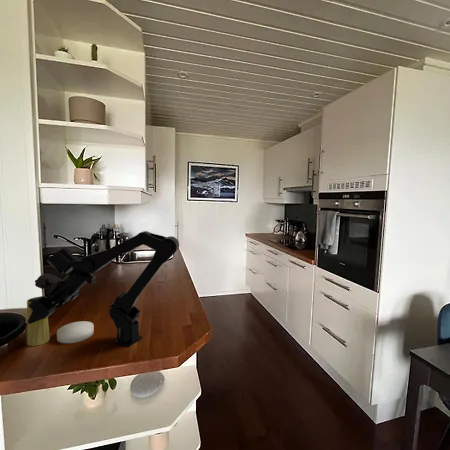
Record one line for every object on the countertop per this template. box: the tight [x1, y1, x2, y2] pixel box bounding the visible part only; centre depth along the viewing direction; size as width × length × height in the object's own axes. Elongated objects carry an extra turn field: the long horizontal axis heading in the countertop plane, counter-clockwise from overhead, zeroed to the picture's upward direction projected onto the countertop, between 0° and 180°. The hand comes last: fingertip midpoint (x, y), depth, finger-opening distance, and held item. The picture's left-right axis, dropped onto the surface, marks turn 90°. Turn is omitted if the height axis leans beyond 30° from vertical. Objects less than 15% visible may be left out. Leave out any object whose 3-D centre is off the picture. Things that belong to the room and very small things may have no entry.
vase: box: [26, 296, 51, 347], centre depth 86 cm, size 6×6×14 cm
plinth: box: [56, 320, 95, 344], centre depth 91 cm, size 11×11×2 cm
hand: (38, 316), depth 86 cm, fingers open, 9 cm apart
